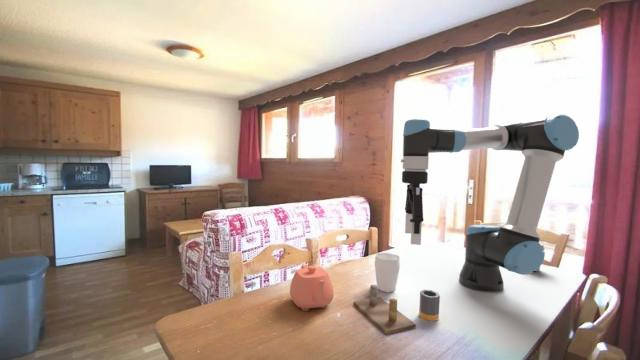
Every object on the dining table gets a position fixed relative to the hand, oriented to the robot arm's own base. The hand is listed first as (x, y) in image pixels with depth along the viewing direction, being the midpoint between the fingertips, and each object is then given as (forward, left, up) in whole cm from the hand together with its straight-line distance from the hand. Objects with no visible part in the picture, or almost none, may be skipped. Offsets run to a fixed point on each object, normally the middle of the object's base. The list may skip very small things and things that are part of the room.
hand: (412, 238), depth 93 cm
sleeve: (-5, +4, -23) cm, 24 cm away
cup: (+6, -14, -23) cm, 28 cm away
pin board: (+9, +6, -23) cm, 25 cm away
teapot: (+31, +3, -23) cm, 38 cm away
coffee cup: (-61, -47, -23) cm, 81 cm away
